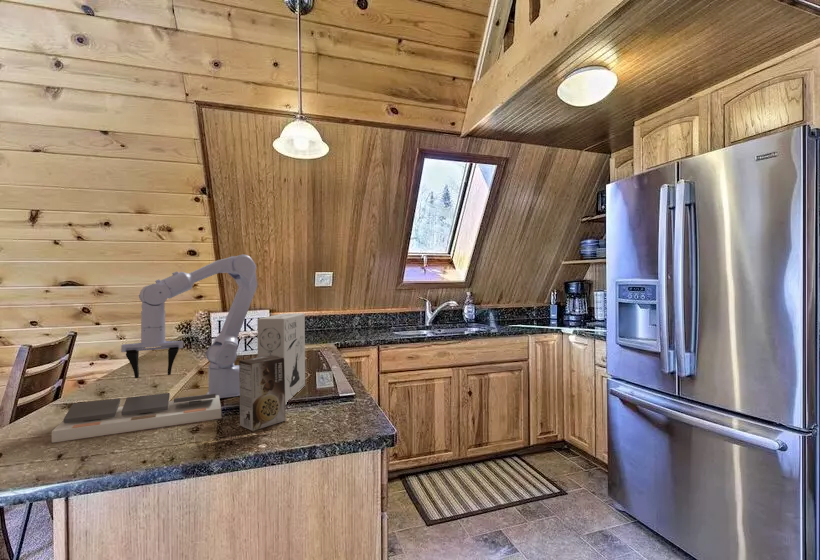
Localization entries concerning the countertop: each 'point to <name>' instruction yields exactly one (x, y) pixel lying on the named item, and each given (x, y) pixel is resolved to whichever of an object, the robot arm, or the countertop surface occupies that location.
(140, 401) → the rocker mid
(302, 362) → the cereal box
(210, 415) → the switch panel
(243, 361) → the cookie box
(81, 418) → the rocker outer
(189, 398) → the rocker inner
